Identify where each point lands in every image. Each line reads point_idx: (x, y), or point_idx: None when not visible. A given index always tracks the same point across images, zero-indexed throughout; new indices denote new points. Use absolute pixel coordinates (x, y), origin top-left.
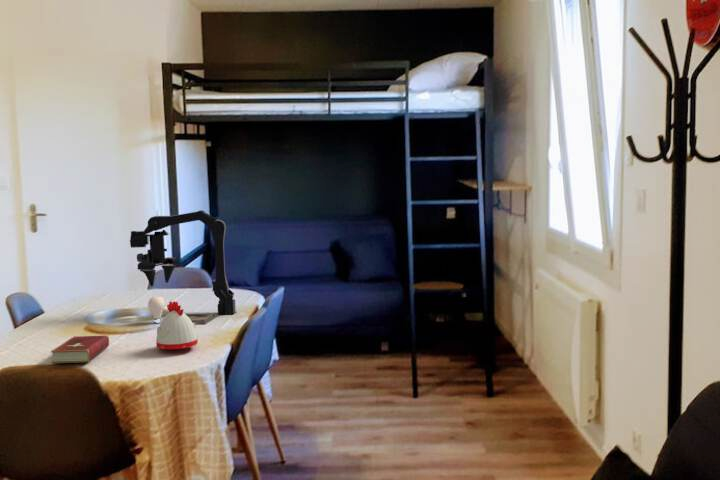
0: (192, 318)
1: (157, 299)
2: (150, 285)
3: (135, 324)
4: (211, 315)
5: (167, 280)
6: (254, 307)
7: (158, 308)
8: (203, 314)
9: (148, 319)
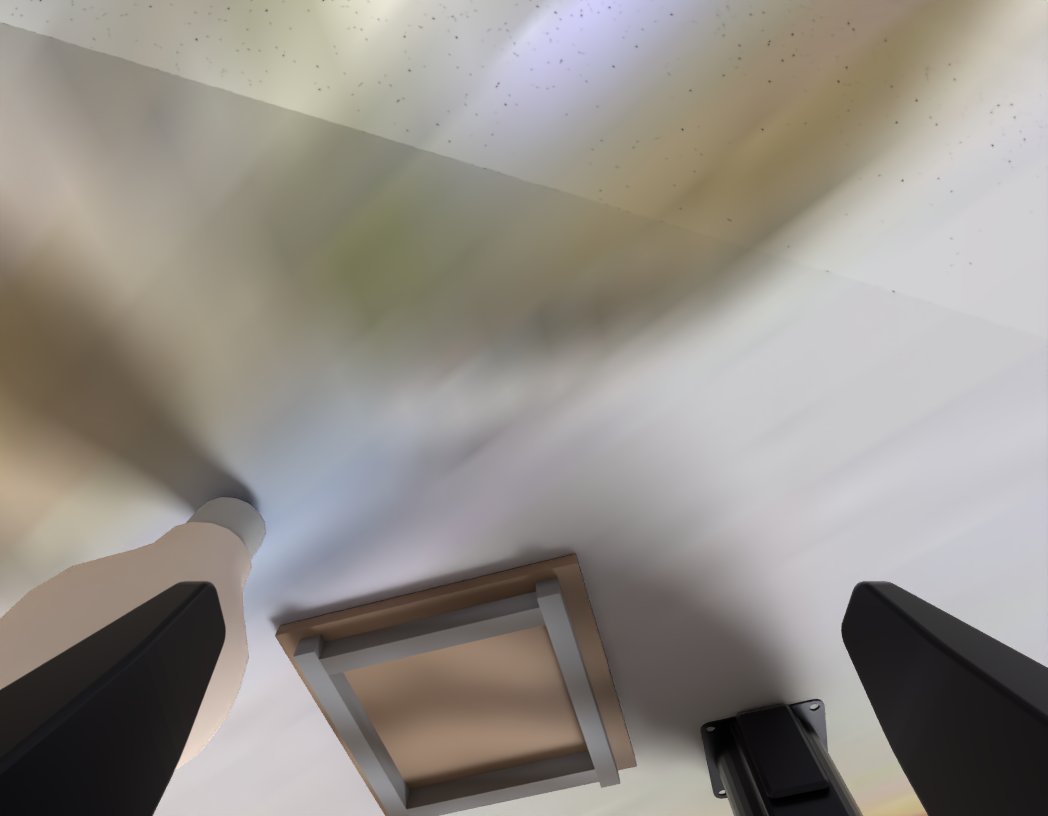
0: (482, 684)
1: None
2: (172, 589)
3: (87, 332)
4: (563, 785)
5: (875, 686)
6: None
7: None
8: (580, 726)
9: (349, 291)
